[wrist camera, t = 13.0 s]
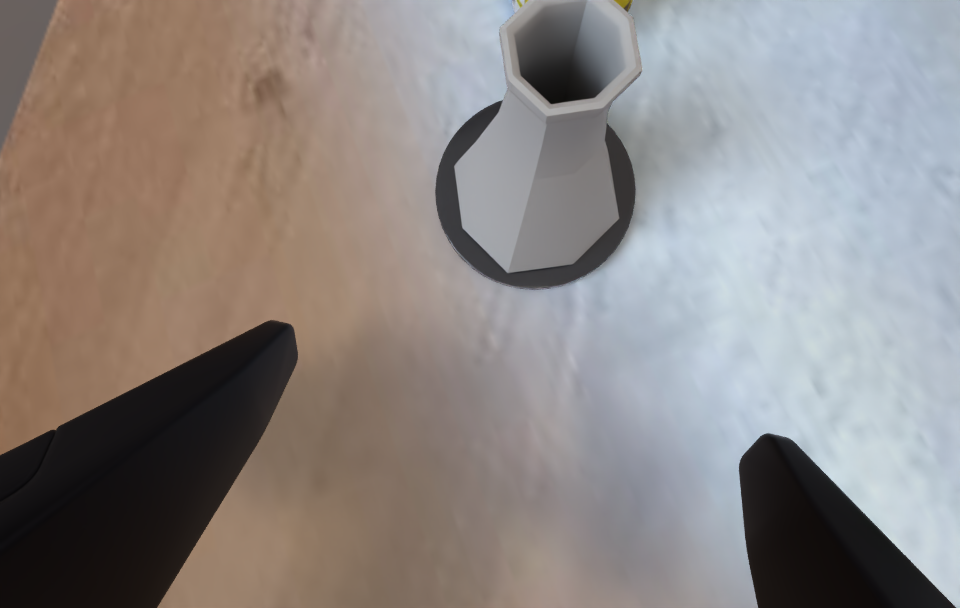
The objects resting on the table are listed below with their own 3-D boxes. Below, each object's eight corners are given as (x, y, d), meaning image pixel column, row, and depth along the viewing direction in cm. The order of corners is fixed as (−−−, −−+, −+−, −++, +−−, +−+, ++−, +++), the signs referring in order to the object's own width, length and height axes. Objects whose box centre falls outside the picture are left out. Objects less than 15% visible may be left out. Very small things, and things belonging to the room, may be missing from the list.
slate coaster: (515, 329, 20) (515, 329, 20) (398, 176, 21) (396, 172, 20) (673, 210, 20) (677, 206, 20) (551, 63, 21) (552, 56, 21)
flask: (428, 160, 20) (361, -15, 10) (570, 90, 20) (638, -150, 10) (498, 301, 20) (497, 258, 10) (645, 229, 20) (794, 113, 10)
